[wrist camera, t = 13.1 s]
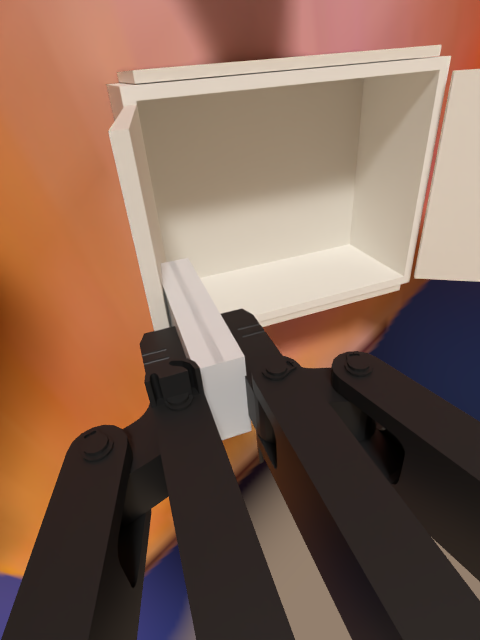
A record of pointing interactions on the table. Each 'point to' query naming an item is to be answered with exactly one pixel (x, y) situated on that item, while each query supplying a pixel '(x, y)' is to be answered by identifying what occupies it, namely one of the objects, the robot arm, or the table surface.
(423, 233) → the flap
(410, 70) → the carton
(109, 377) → the table surface
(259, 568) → the robot arm
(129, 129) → the flap
